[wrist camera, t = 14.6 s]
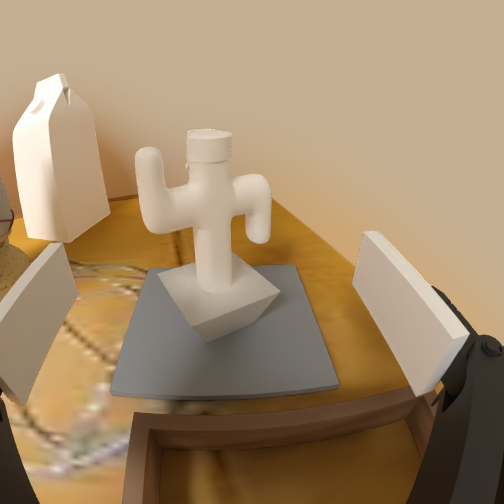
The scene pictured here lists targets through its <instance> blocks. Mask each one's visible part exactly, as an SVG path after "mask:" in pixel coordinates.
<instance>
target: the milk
mask: <svg viewBox="0 0 504 504" xmlns="http://www.w3.org/2000/svg"><path fill="white" fill-rule="evenodd" d="M13 149H14V160H15V168H16V177H17V184H18V189H19V196H20V202H21V207H22V212H23V217H24V222H25V226H26V231H27V235H28V237H30V238H37V239H44V240H51V241H58V242H65V243H70V242H72V241H73V240H74V239H76V238H77V237H78V236H80V235H81V234H83V233H84V232H85V231H87V230H88V229H89V228H91V227H92V226H94V225H95V224H96V223H98V222H99V221H101V220H102V219H104V218H105V217H107V216H108V215H109V214H111V212H110V208H109V203H108V199H107V194H106V190H105V185H104V180H103V174H102V169H101V164H100V158H99V152H98V145H97V139H96V131H95V124H94V117H93V113H92V111H91V109H90V107H89V106H88V105H87V104H86V103H85V102H84V101H83V100H82V99H81V98H80V97H79V96H78V95H77V94H76V93H74V92H73V91H72V90H71V89H70V88H69V86H68V83H67V80H66V77H65V74H64V73H59V74H56V75H54V76H51V77H49V78H47V79H45V80H42V81H40V82H38V83H37V86H36V90H35V95H34V100H33V101H32V102H31V104H30V105H29V107H28V108H27V110H26V111H25V112H24V114H23V115H22V117H21V118H20V120H19V122H18V123H17V125H16V127H15V130H14V132H13Z"/></svg>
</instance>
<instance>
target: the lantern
mask: <svg viewBox="0 0 504 504" xmlns="http://www.w3.org/2000/svg"><path fill="white" fill-rule="evenodd" d="M11 212H12V215H11ZM11 216H13V218H12V220H11ZM11 221H12V222H11ZM13 221H14V213H13V211H12V209H11V207H10V201H9V196H8V194H7V191H6V188H5V185H4V183H3V182H2V180H1V179H0V302H1V301H2V299H3V298H4V297H5V295H6V294H7V293H8V292H9V290H10V289H11V288H12V287H13V285H14V284H15V283H16V282H17V280H18V279H19V278H20V277H21V276H22V274H23V273H24V272H25V271H26V270H27V268H28V267H29V266H30V265H31V264H30V261H29V258H28V256H27V255H26V254H25V253H24V252H23V251H22V250H20V249H19V248H17V247H15V246H13V245H11V244H9V241H8V236H9V235H10V233H11V227H12V224H13Z"/></svg>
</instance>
